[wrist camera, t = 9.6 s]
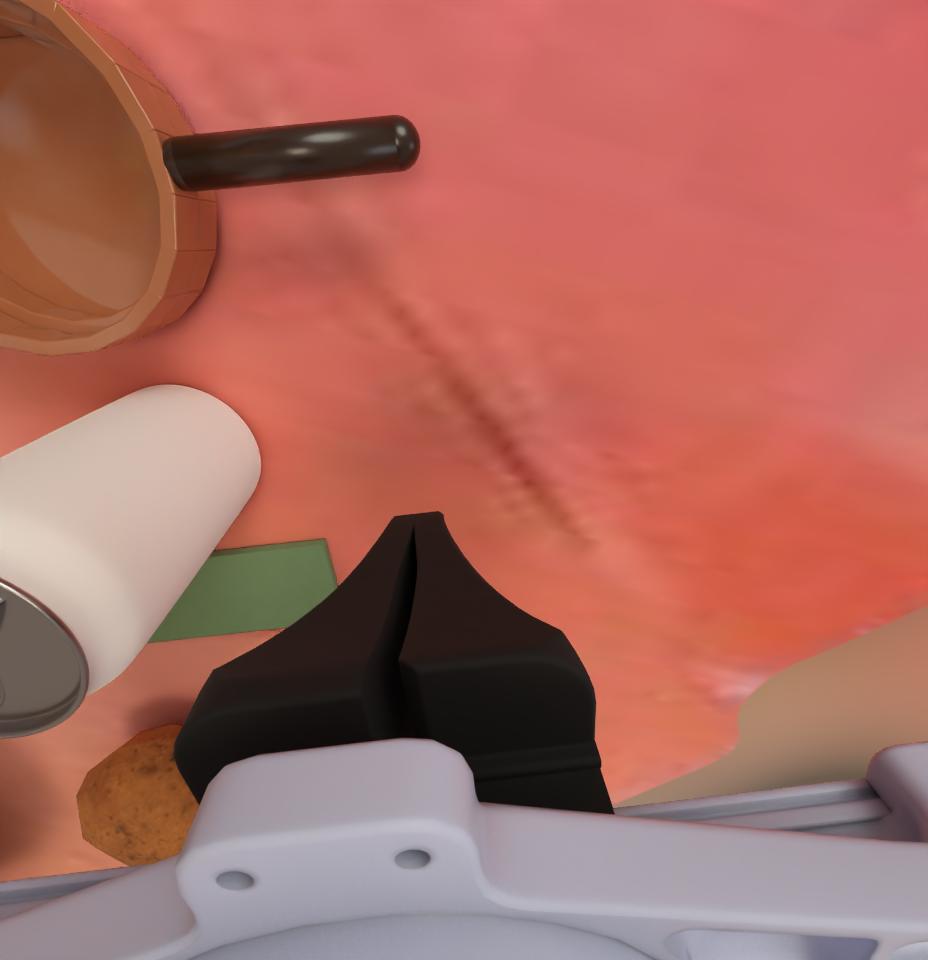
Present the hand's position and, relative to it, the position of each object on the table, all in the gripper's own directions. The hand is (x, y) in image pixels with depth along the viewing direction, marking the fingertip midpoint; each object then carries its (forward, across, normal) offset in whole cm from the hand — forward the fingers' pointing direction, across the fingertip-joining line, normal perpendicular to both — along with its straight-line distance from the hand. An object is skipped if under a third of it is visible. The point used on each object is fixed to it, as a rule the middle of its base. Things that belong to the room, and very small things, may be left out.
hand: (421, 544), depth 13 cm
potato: (+10, +16, +21) cm, 28 cm away
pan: (+10, +11, -10) cm, 18 cm away
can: (+10, +11, 0) cm, 15 cm away
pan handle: (+7, +3, -10) cm, 13 cm away
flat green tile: (+10, +12, +8) cm, 17 cm away
